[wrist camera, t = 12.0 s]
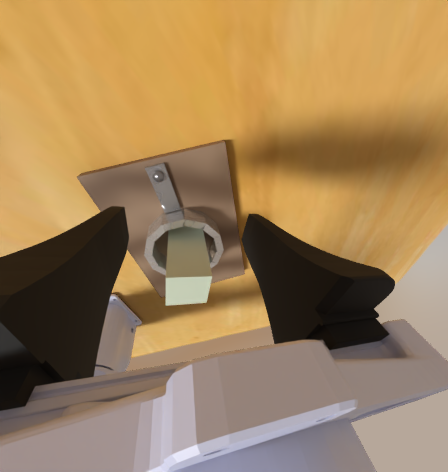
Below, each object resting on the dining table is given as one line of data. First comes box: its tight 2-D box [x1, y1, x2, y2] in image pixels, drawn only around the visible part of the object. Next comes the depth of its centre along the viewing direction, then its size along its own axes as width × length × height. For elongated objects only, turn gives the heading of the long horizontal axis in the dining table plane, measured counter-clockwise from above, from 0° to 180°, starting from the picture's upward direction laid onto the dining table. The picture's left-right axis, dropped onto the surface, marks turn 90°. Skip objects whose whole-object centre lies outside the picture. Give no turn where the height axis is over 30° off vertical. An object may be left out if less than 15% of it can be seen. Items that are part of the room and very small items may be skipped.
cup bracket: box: [77, 140, 245, 297], centre depth 23 cm, size 20×14×4 cm
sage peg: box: [166, 226, 212, 306], centre depth 20 cm, size 4×4×8 cm
